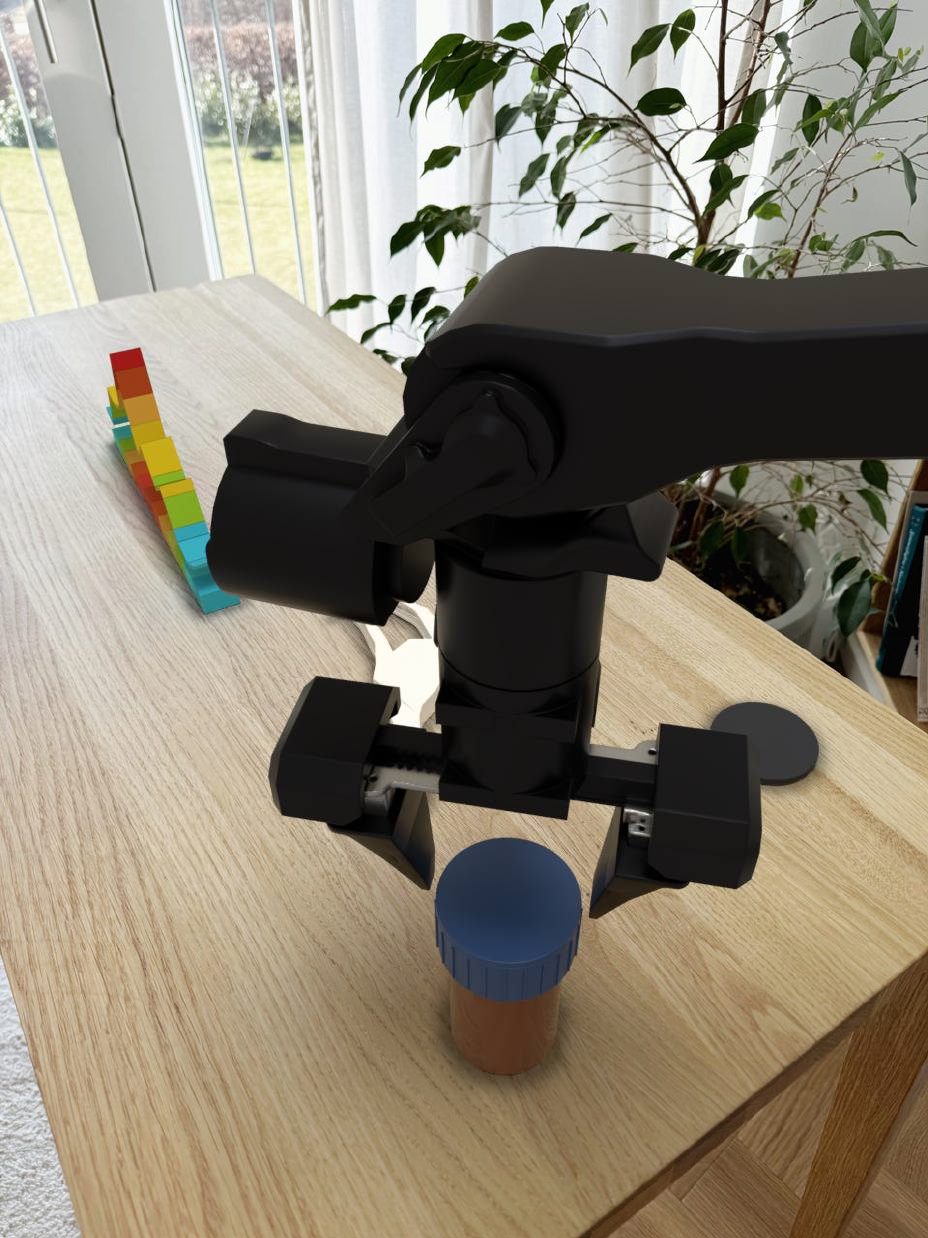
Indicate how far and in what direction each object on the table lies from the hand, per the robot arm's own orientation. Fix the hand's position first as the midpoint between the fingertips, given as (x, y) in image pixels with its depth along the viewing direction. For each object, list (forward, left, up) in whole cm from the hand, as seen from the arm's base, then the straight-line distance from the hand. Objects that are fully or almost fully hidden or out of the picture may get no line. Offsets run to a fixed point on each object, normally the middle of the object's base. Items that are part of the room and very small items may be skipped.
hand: (509, 895), depth 44 cm
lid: (0, 0, -3) cm, 3 cm away
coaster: (-14, -23, -12) cm, 29 cm away
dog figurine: (+12, -23, -12) cm, 29 cm away
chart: (+38, -41, -12) cm, 57 cm away
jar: (0, 0, -12) cm, 12 cm away
